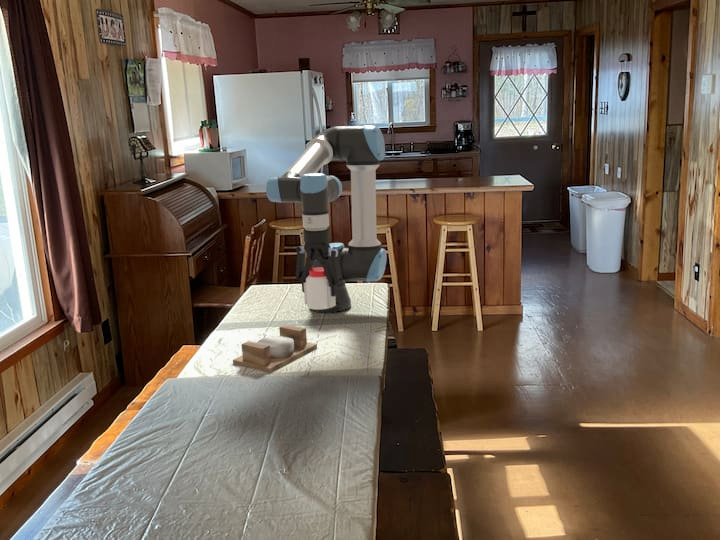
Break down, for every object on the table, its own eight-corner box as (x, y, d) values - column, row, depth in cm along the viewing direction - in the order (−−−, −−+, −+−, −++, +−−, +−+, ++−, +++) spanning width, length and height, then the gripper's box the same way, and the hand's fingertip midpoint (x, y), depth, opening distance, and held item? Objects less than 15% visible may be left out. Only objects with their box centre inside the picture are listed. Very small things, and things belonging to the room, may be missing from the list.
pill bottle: (334, 301, 203) (333, 265, 200) (332, 309, 196) (330, 272, 193) (309, 302, 204) (307, 266, 201) (305, 309, 196) (303, 272, 194)
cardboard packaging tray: (281, 340, 215) (280, 322, 214) (316, 347, 208) (315, 328, 206) (233, 363, 198) (231, 343, 196) (270, 372, 190) (268, 351, 189)
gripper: (279, 228, 196) (284, 303, 202) (339, 233, 186) (342, 312, 191) (295, 223, 202) (299, 297, 208) (353, 228, 192) (356, 305, 197)
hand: (320, 304), depth 200 cm, fingers closed on pill bottle, 8 cm apart
